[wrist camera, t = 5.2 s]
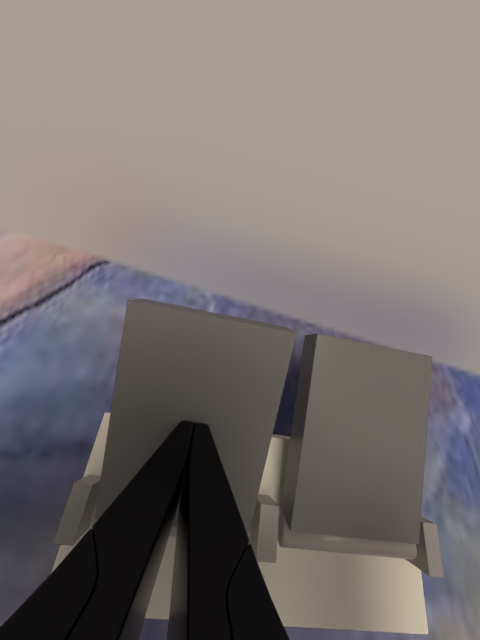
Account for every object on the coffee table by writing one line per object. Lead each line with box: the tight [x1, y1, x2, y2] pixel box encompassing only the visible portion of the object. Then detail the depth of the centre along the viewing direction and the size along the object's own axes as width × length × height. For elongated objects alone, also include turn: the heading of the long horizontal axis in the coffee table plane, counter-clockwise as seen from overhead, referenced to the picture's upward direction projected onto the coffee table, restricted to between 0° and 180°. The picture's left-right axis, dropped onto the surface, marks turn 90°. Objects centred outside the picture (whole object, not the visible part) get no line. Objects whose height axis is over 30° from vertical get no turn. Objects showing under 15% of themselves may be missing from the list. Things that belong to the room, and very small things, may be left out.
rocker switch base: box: [51, 413, 444, 634], centre depth 11 cm, size 6×14×5 cm, turn 82°
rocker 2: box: [277, 334, 432, 560], centre depth 10 cm, size 1×5×8 cm
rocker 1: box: [92, 299, 297, 537], centre depth 8 cm, size 1×5×8 cm
